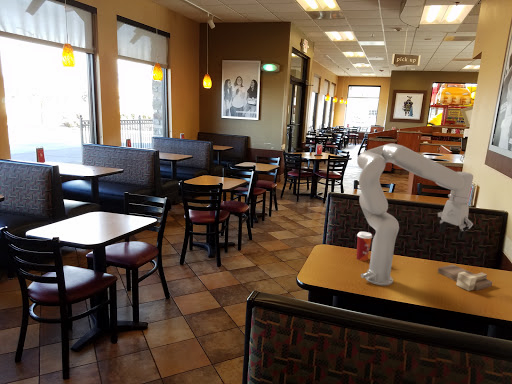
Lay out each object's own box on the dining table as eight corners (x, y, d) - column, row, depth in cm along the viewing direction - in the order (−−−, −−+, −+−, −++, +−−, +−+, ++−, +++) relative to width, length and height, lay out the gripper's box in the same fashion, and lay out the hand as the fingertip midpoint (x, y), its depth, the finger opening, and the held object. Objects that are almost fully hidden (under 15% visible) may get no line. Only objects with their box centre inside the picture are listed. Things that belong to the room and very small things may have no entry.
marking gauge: (489, 285, 172) (491, 273, 170) (468, 290, 165) (470, 278, 163) (476, 279, 177) (479, 267, 175) (456, 284, 170) (458, 272, 169)
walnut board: (491, 286, 171) (492, 281, 170) (476, 290, 166) (477, 285, 165) (452, 269, 188) (453, 264, 188) (437, 272, 183) (438, 267, 183)
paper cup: (366, 262, 190) (370, 237, 187) (352, 259, 194) (355, 233, 191) (371, 258, 197) (374, 233, 194) (357, 254, 201) (360, 230, 198)
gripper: (436, 194, 173) (429, 229, 177) (470, 204, 158) (462, 242, 161) (447, 194, 176) (440, 228, 180) (482, 204, 161) (473, 241, 165)
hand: (451, 235), depth 171 cm, fingers open, 9 cm apart
